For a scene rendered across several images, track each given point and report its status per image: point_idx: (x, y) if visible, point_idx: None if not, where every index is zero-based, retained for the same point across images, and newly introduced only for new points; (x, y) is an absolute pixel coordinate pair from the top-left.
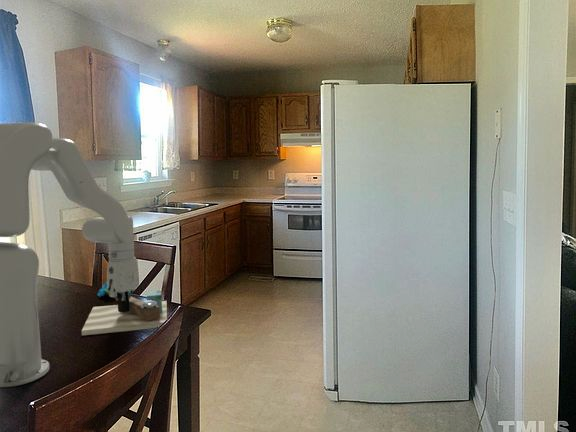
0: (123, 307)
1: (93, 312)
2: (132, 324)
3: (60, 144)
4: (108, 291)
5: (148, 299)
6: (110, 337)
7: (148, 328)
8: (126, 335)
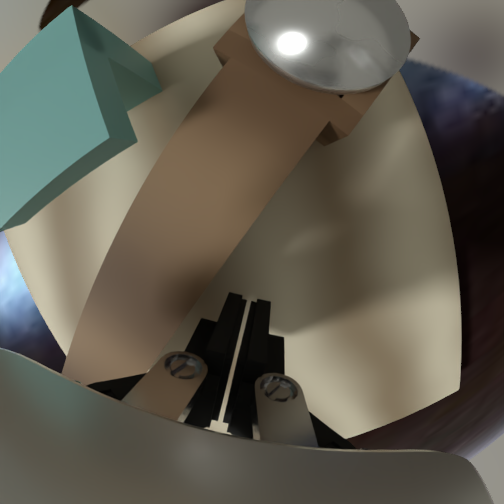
0: (272, 342)
1: None
2: (420, 169)
3: None
4: None
5: (128, 123)
6: (491, 245)
7: None
8: (476, 172)
